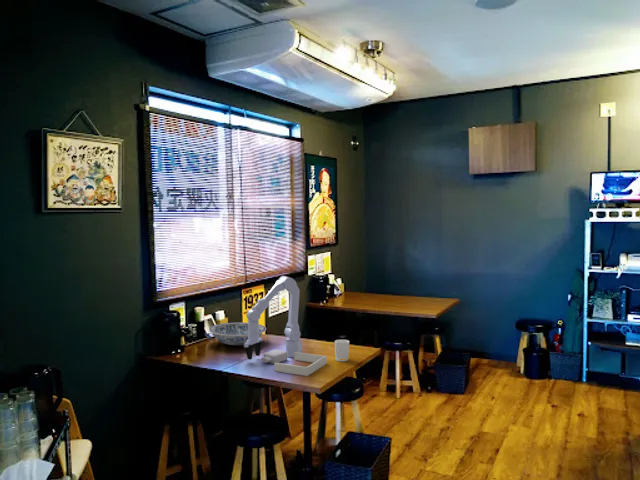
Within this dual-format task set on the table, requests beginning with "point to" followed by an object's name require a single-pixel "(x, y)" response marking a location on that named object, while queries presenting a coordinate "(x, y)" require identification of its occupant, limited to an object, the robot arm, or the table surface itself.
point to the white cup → (341, 349)
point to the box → (301, 370)
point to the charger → (274, 356)
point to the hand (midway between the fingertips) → (253, 357)
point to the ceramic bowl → (233, 332)
